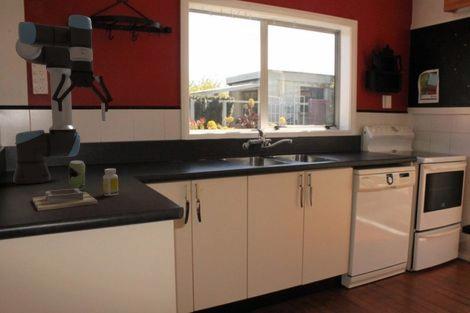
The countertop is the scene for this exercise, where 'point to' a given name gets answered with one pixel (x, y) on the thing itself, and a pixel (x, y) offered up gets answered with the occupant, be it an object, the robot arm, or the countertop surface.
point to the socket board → (63, 199)
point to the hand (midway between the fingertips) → (84, 121)
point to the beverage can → (77, 175)
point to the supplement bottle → (110, 182)
